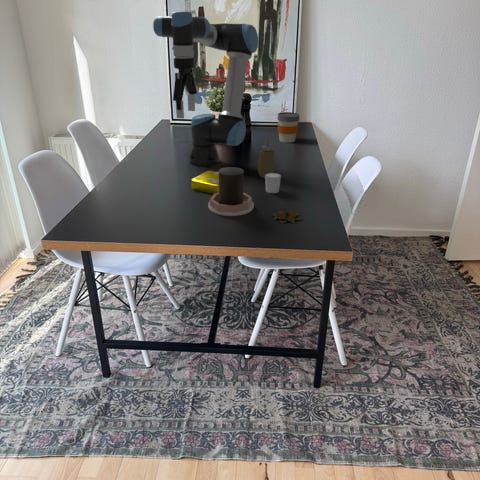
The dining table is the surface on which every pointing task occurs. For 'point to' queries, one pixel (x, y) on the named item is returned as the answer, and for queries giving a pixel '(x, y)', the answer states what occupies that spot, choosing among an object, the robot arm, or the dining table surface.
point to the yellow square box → (207, 182)
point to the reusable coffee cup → (287, 126)
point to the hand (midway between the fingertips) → (186, 114)
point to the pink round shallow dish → (231, 206)
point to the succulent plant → (286, 214)
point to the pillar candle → (231, 186)
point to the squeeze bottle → (266, 159)
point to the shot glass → (272, 182)
